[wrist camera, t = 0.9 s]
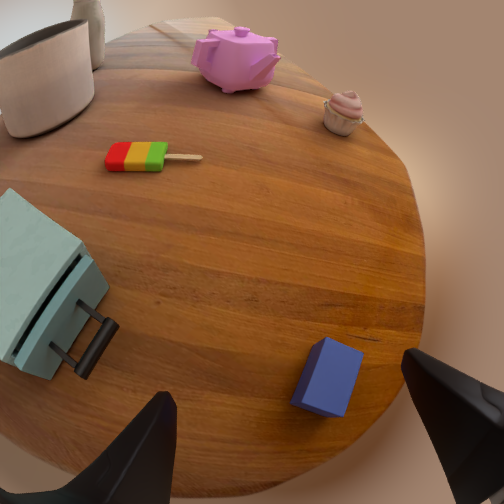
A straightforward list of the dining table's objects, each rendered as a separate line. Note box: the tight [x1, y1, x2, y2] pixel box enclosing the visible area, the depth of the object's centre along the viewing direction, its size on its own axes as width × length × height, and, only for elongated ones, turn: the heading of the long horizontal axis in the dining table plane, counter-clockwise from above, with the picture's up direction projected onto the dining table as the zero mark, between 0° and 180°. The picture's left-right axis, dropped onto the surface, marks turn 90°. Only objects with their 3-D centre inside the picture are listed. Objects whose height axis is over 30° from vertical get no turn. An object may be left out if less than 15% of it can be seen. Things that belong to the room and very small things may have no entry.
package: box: [290, 337, 364, 417], centre depth 25 cm, size 5×7×4 cm, turn 156°
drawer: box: [14, 254, 119, 380], centre depth 22 cm, size 20×13×6 cm, turn 66°
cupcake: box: [324, 91, 365, 136], centre depth 50 cm, size 9×9×10 cm
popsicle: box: [105, 142, 202, 171], centre depth 39 cm, size 6×15×2 cm, turn 94°
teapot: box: [191, 27, 281, 93], centre depth 52 cm, size 19×18×15 cm
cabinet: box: [0, 188, 91, 367], centre depth 22 cm, size 16×14×8 cm
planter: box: [0, 19, 94, 138], centre depth 36 cm, size 23×23×20 cm
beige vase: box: [70, 0, 105, 70], centre depth 45 cm, size 10×10×28 cm
